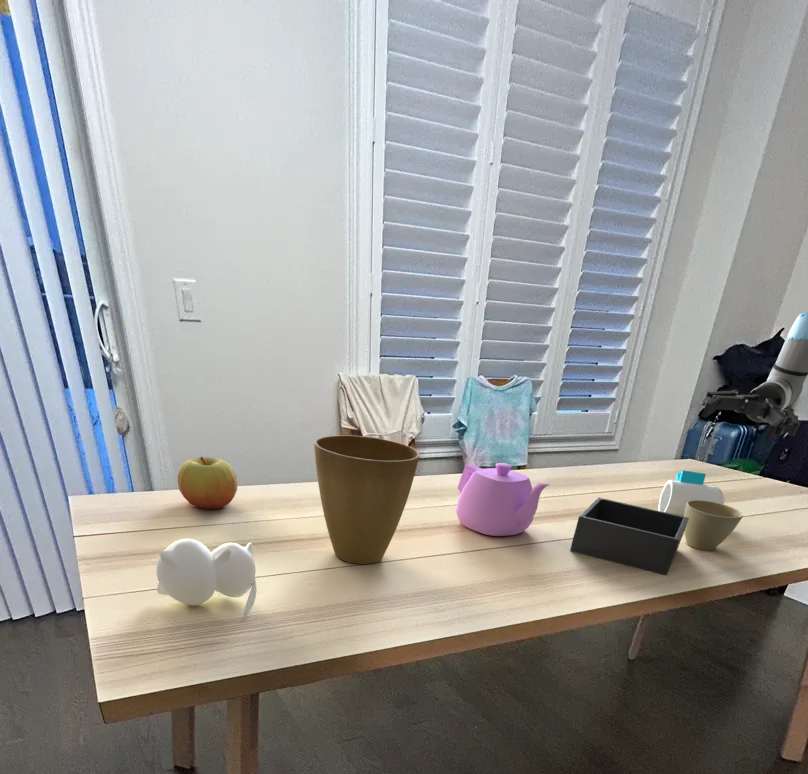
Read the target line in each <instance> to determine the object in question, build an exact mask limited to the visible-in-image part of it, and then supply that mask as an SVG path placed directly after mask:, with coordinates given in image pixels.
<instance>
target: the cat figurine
mask: <svg viewBox="0 0 808 774" xmlns="http://www.w3.org/2000/svg"><path fill="white" fill-rule="evenodd" d="M254 560H255V559H254V546H253V543H252V542H248V543H247V545H246V546H242V545H240V543H239V544H238V543H236V542H226V543H223V544H221V545H219V546H218V547H216V548H215V549H214V550H213V551H211V550H209V548H208V547H207V546H206V545H205V544H204V543H203V542H200V541H199V540H197V539H194V538H180V539H178V540H176V541H174V542H172V543H171V544H170V545H168V546H167V547H166V548H165V549H164V550H162V551H161V552H159V557H158V561H157V563H156V577H157V581H158V584H157V587H156V591H157V594H158V595H162V596H168V597H170V598H172V599H174V601H177V602H179V603H181V604H184V605H187V606H200V605H203V604H205V603H206V602H208V601H209V600H210V599H211V598H212V597H213V595H214V593H215V591H216V592H217V593H219V594H221V595H224V596H227V597H229V598H241V597H243V596H244V595H246V594H247V593H248V592H249V591H250V592H249V595H248V597H247V600H246V603H245V606H244V609H243V616H244V617H246V616H248V614H249V613H250V612H251V610H252V608H253V606H254V604H255V600H256V598H257V592H258V591H257V581H256V569H257V568H256V564H255V561H254Z"/></svg>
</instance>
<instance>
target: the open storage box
mask: <svg viewBox="0 0 808 774" xmlns="http://www.w3.org/2000/svg"><path fill="white" fill-rule="evenodd" d="M688 519H689V518H688V517H683V516H679V515H675V514H670V513H666V512H661V511H658V509H657V510H656V509H653V508H647V507H643V506H638V505H634V504H630V503H626V502H621V501H616V500H611V499H609V498H608V499H607V498H604V497H597V498H596V499H595V500H594V501H593V502H592V503H591V504H590V505H589V506H588V507H587V508H586V509H585V510H583V512H582V513H581V514H580V515H579V516H578V519H577V522H576V526H575V530H574V534H573V537H572V541H571V546H570V550H569V551H571V552H574V553H578V554H582V555H585V556H586V555H587V556H591V557H594V558H597V559H601V560H605V561H610V562H613V563H618V564H622V565H625V566H630V567H634V568H637V569H642V570H646V571H649V572H653V573H657V574H660V575H665V576H668V573H669V571H670V568H671V566H672V564H673V561H674V559H675V557H676V554H677V553H678V550H679V547H680V544H681V541H682V538H683V535H684V534H685V532H684V530H685V528H686V525H687V522H688Z"/></svg>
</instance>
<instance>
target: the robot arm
mask: <svg viewBox="0 0 808 774" xmlns="http://www.w3.org/2000/svg"><path fill="white" fill-rule="evenodd" d="M807 377H808V311H805V312H804V311H803V312H802V313H800V314H799V315H798V316H797V317H796V318H795V321H794V323H793V324H792V326H791V328H790V329H789V331H788V333H787V334H786V338H785V340H784V342H783V345H782V348H781V350H780V351H779V354H778V356H777V359H776V361H775V363H774V364H773V366H772V368H771V370H770V372H769V375H768V377H767V379H766V381H765V382H763V383H761V384H760V385H758V386H757V387H755V388H754V389H752V390H751V391H750V392H749V393H748V394H740V395H739V390H738V389H731V390H721V391H720V390H719V391H717V390H716V391H705V394H704V395H703V399H702V401H701V403H700V405H701V406H703V411H702V413H701V416H700V417H701V418H703V419H704V418H707V417H708V416H711V414H713V413H715V412H716V411H717V410H719V411H720V410H723V411H734V412H736V413H737V414H745V415H746V417H747V418H748V419H749V420H751V421H753V422H755V423H767V424H769V425H770V427H769V430H768V432H767V434H766V435H765V438H764V440H765V441H770V440H771V439H772V438H773V437H774V436H776V435H778V436H782V435H783V434H785V433H786V434H787V435H788V436H789V437H794V436H795V434H796V432H797V430H798V429H799V427H800V425H801V423H800V421H799V419H798V418H797V415H796V414H795V413H794V412H795V409H794V408H792V407H790V406H791V405H793V404H794V402H796V401H797V400H798V398H799V397H800V395H801V393H802V391H803V388H804V382H805V380H806V379H807ZM788 407H789V408H788Z"/></svg>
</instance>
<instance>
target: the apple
mask: <svg viewBox="0 0 808 774" xmlns="http://www.w3.org/2000/svg"><path fill="white" fill-rule="evenodd" d="M177 485H178V489H179V490H178V491H179V492H180V494H181V495H182V497H183V498H184V499H185V500H186V501H187V502H188V503H189V504H190V505H192V506H193V507H195V508H199V509H204V510H218V509H222V508H223V507H226V506H228V505H229V504H231V502H232V501H233V499H234V498H235V496H236V494H237V491H238V478H237V475H236V473H235V471H234V469H233V468H232V466H231V465H230V464H229V463H228V462H226V461H225V460H222V459H219V458H215V457H203V456H201V457H194V458H190V459H188V460H187V461H186V460H185V461H184V462H183V463H182V465H181V466H180V468H179V471H178V474H177Z"/></svg>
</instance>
